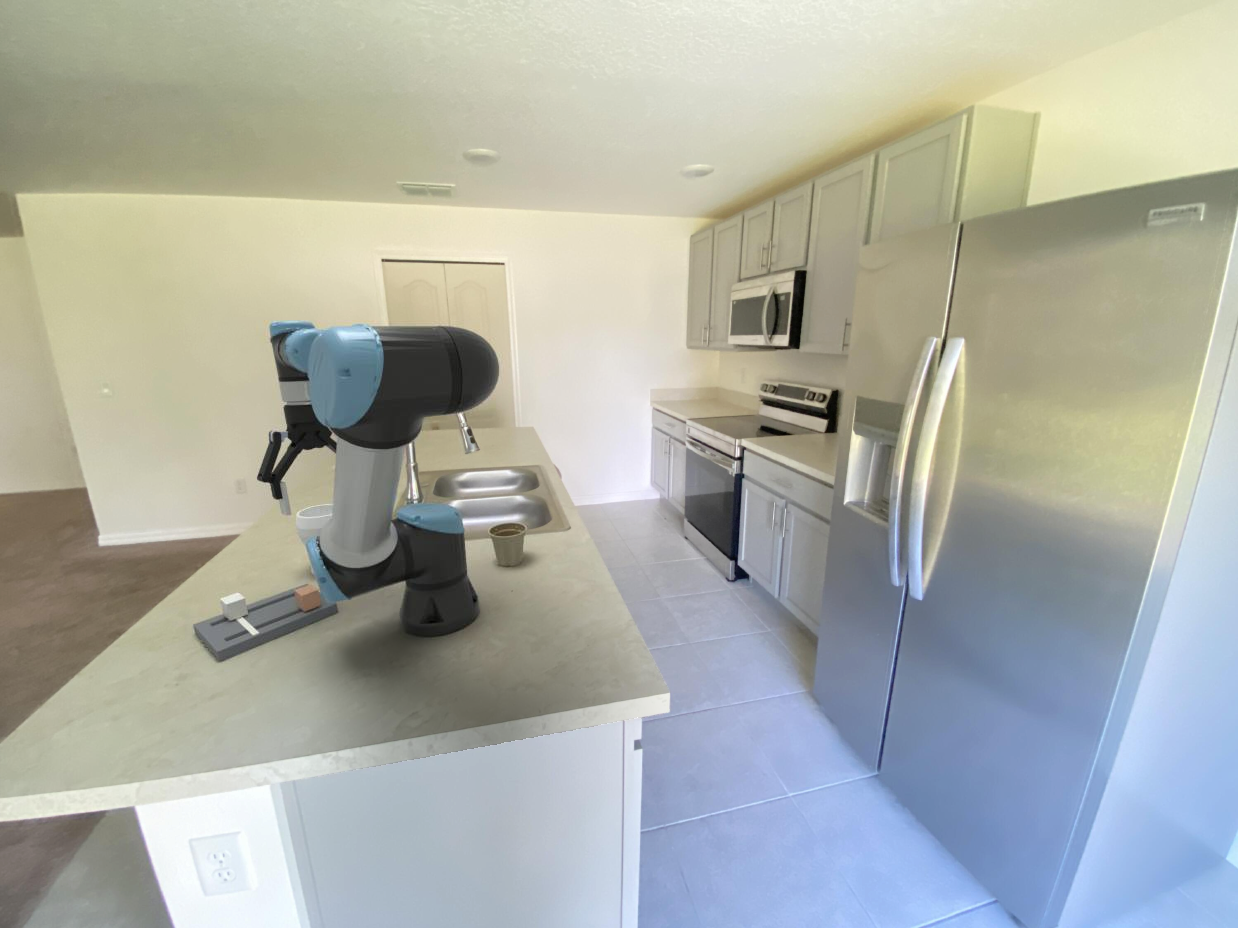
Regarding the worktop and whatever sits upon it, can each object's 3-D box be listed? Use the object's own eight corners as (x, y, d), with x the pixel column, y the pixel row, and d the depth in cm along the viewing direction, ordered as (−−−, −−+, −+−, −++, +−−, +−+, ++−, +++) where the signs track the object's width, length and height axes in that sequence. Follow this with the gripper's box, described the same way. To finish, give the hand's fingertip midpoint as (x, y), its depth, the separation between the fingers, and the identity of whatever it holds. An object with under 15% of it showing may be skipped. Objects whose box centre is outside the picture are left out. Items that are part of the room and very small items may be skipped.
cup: (332, 580, 115) (322, 520, 112) (293, 576, 118) (282, 516, 114) (363, 561, 126) (355, 504, 122) (327, 557, 128) (318, 501, 124)
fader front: (320, 605, 101) (318, 589, 100) (304, 611, 98) (301, 595, 98) (313, 599, 103) (310, 584, 102) (297, 605, 101) (294, 590, 100)
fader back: (248, 614, 98) (244, 598, 97) (229, 620, 95) (226, 604, 94) (241, 608, 100) (238, 592, 99) (223, 614, 97) (219, 598, 97)
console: (338, 612, 103) (336, 602, 102) (219, 661, 87) (217, 651, 87) (308, 591, 111) (307, 582, 110) (195, 633, 95) (192, 623, 95)
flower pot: (483, 567, 122) (480, 534, 120) (500, 551, 131) (498, 520, 129) (518, 571, 120) (516, 538, 118) (534, 555, 129) (532, 523, 126)
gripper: (358, 395, 110) (371, 487, 115) (222, 408, 91) (245, 518, 96) (376, 397, 106) (389, 492, 111) (237, 410, 87) (260, 526, 91)
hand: (322, 505), depth 103 cm, fingers open, 13 cm apart
